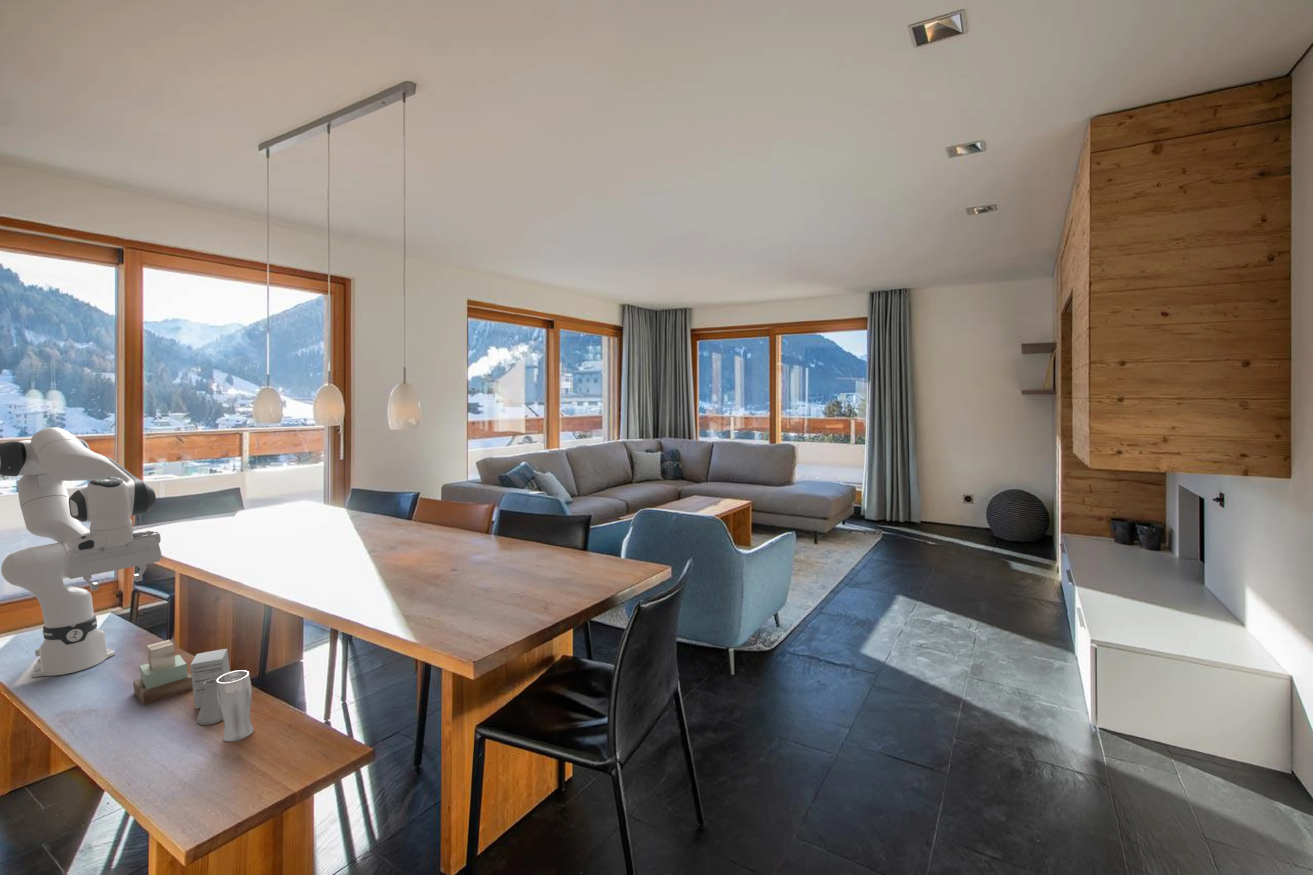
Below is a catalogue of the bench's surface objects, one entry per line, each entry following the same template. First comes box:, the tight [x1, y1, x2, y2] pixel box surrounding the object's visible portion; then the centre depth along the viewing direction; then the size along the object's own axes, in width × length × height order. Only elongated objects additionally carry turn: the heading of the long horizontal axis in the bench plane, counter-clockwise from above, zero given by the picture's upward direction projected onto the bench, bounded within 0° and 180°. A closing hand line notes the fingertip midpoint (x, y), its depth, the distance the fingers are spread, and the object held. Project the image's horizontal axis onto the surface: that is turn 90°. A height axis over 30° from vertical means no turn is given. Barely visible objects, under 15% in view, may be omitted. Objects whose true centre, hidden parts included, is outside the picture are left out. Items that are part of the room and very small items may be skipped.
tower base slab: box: [132, 671, 193, 706], centre depth 173 cm, size 11×11×4 cm
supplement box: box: [189, 648, 231, 710], centre depth 167 cm, size 7×7×13 cm
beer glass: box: [217, 669, 254, 743], centre depth 149 cm, size 7×7×15 cm
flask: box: [195, 679, 223, 726], centre depth 158 cm, size 7×7×10 cm
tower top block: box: [139, 654, 189, 690], centre depth 173 cm, size 9×9×4 cm
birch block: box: [146, 639, 176, 671], centre depth 172 cm, size 5×5×6 cm
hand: (116, 585), depth 170 cm, fingers open, 8 cm apart
